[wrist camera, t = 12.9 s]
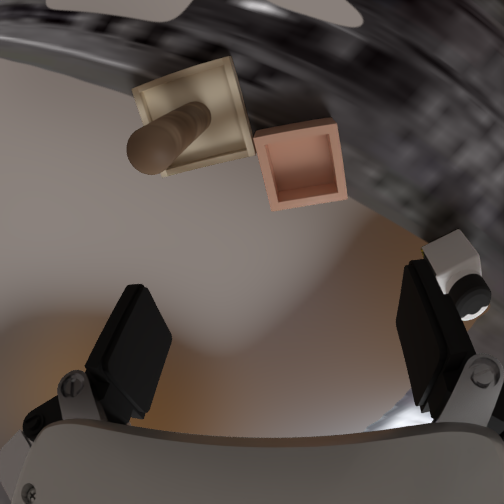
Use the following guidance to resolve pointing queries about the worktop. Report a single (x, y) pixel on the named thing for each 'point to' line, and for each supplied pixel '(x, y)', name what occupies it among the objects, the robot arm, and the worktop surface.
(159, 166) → the dowel
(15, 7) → the worktop surface
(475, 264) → the medicine bottle
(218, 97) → the tray
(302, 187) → the pink square box
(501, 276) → the worktop surface
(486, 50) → the worktop surface
